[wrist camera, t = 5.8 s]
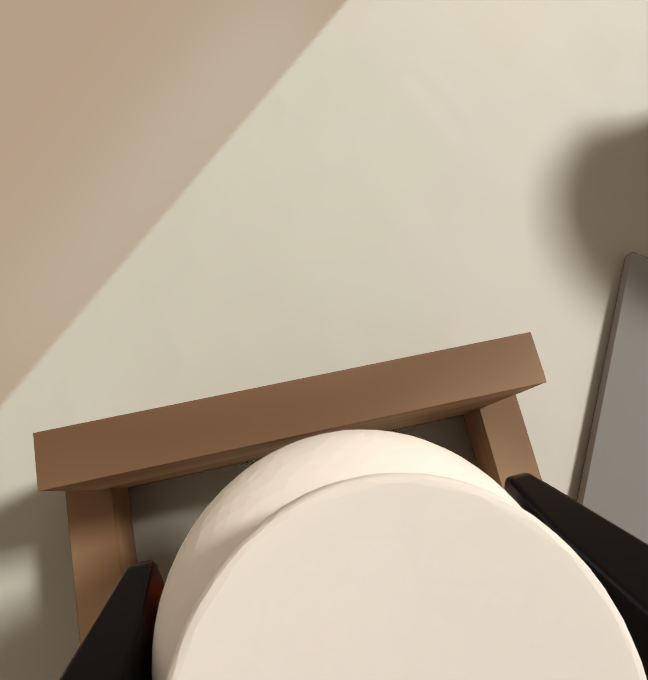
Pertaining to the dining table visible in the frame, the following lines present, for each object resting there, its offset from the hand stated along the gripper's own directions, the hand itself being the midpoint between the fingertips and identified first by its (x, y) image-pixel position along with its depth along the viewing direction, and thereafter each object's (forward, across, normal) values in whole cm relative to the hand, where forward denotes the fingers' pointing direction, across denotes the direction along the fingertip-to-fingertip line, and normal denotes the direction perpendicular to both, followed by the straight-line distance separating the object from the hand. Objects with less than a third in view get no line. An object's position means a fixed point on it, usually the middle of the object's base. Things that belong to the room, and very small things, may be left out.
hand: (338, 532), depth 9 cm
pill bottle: (+4, 0, +6) cm, 7 cm away
